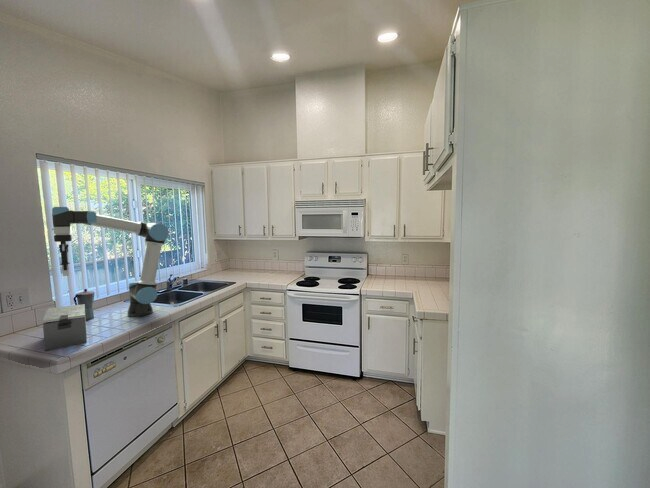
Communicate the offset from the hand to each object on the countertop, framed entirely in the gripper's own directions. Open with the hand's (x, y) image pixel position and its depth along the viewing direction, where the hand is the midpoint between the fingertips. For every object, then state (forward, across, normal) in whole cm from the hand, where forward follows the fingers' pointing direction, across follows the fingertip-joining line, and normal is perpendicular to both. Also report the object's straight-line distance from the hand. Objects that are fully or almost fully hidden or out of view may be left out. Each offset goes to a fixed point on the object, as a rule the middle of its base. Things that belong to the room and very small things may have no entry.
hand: (66, 275), depth 169 cm
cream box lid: (+20, +12, -1) cm, 23 cm away
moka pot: (+35, -28, +7) cm, 45 cm away
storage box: (+34, +10, -1) cm, 36 cm away
